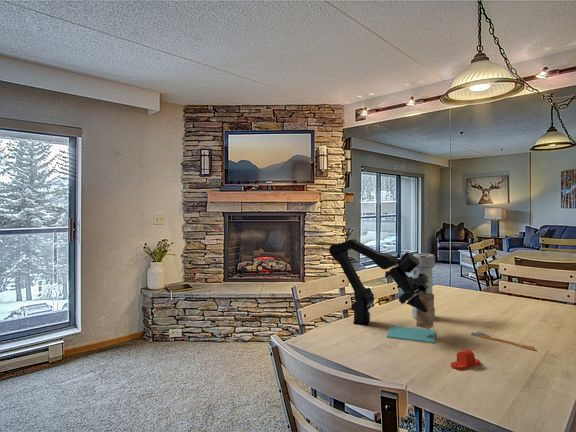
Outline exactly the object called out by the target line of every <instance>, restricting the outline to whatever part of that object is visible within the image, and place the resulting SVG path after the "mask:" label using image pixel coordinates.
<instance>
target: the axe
mask: <svg viewBox="0 0 576 432" xmlns="http://www.w3.org/2000/svg"><path fill="white" fill-rule="evenodd" d="M470 335H471V336H474V337H478V338H481V339H486V340H490V341H494V342H500V343H505V344H510V345H513V346H516V347H519V348H522V349H525V350H529V351H533V352H535V351H536V348H535V346H532V345H526V344H522V343H521V344H520V343H517V342H513V341H509V340H505V339H502V338H501V339H500V338H497V337H496V338H495V337H491V335H490V334H488V333H485V332H483V331H475V332H473V331H471V332H470Z"/></svg>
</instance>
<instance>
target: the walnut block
mask: <svg viewBox="0 0 576 432" xmlns="http://www.w3.org/2000/svg"><path fill="white" fill-rule="evenodd" d="M419 299H420V301H421V302H422V304H423V305H424V307H425V308H426V310H427V312H426V313H425V312H423V311H421V310H419V309H417V319H416V327H417V328H418V327H419V328H420V329H428V330H431V329H432V328H433V327H434V321H435V318H434V308H435V294H433V293H432V294H429V293H423V292H421V293H419Z"/></svg>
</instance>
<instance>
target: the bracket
mask: <svg viewBox="0 0 576 432" xmlns="http://www.w3.org/2000/svg"><path fill="white" fill-rule="evenodd" d="M480 365H481V360H480V359H477V358H476V357H475V354H474V352H473V351H472V350H471V349H465V350H460V351H458V352H457V353H456V361H453V362H451V363H450V368H451V367H452V369H453V370H455V369H456V371H463V370H468V369H470V368H474V367H478V366H480Z"/></svg>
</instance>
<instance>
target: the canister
mask: <svg viewBox="0 0 576 432" xmlns="http://www.w3.org/2000/svg"><path fill="white" fill-rule="evenodd" d="M412 255H413V256H415V257H416V258H417V259H418V260H419V262H420V264H419V265H418V266H417V267H416V268H415V269H413V270H412V275H413V276H412V278H413V279H415V278H417V277H418V275H419V274H422V273H424V274H425V275H426V276H428V278H427V279H428V282H427V283H426V285H427V286H428V287H429V288H428V289H426V290H427V291H426V293H429V294H433V269H434V267H435V266H436V263H435V262H436V257H435V254H432V253H420V252H419V253H412ZM411 308H412V312H411V314H412V317H413V319H416V320H417V308H415V307H413V306H411ZM435 316H436V309H435V307H434V319H435V318H436V317H435Z"/></svg>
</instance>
